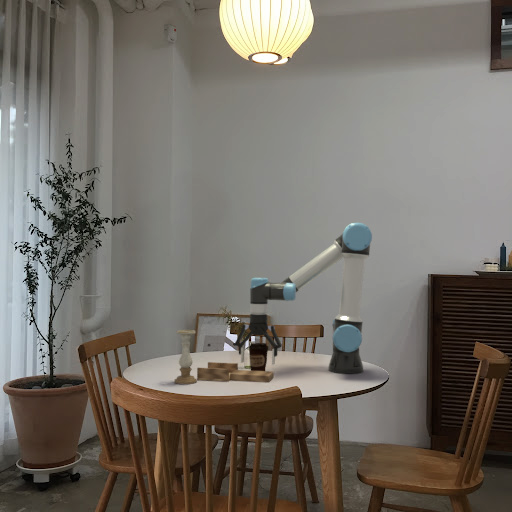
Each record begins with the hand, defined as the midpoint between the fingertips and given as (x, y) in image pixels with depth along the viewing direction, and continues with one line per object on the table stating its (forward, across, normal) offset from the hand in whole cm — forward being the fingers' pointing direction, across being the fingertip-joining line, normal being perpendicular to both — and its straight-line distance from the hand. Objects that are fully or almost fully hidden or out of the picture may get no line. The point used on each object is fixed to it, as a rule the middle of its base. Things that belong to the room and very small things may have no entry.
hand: (257, 363), depth 248 cm
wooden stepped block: (+5, +6, +12) cm, 14 cm away
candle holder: (+5, +24, +25) cm, 35 cm away
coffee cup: (+5, 0, 0) cm, 5 cm away
